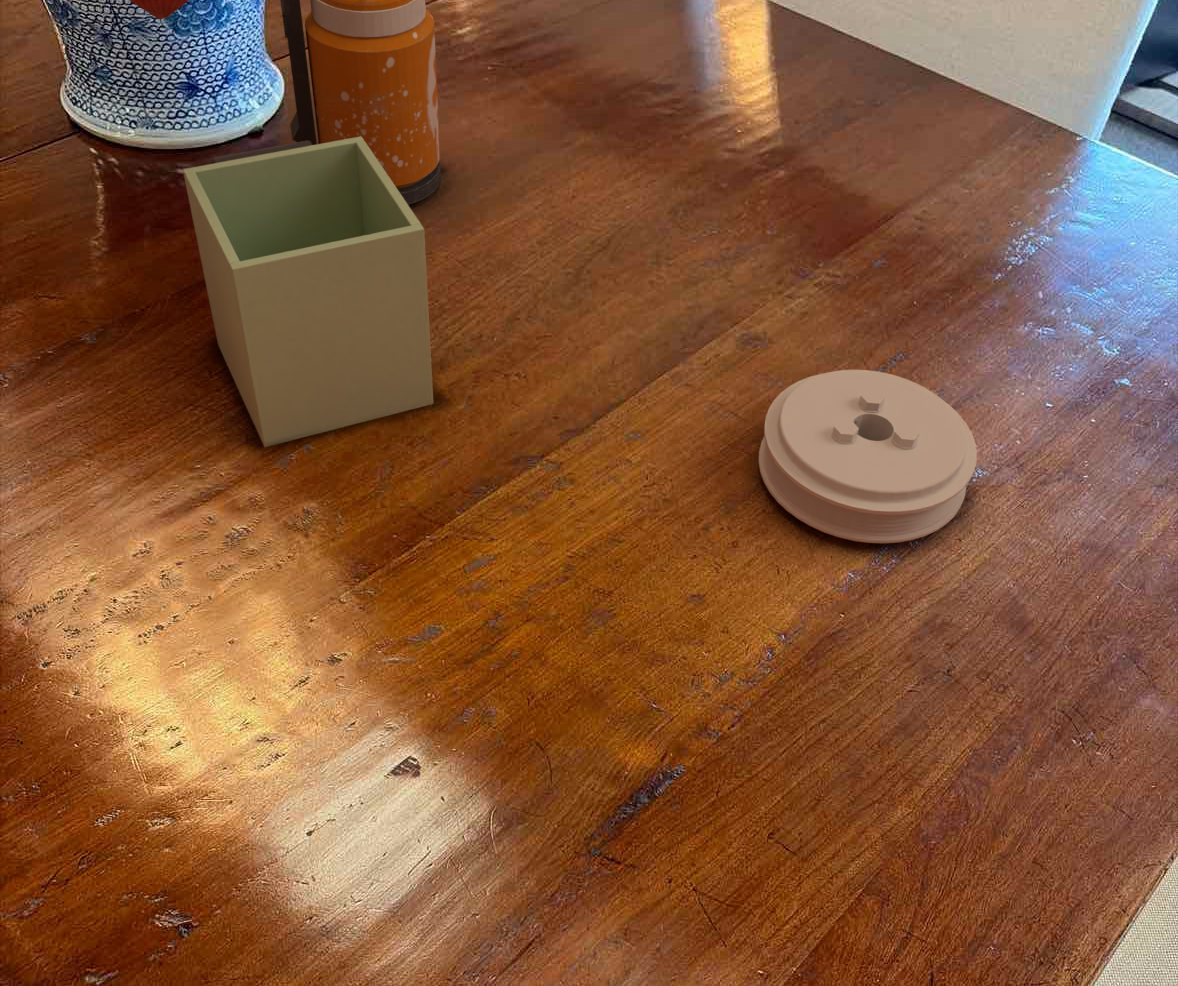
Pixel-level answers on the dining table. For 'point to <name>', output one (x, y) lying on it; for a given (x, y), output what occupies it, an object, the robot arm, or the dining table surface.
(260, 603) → the dining table surface
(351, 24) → the canister
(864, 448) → the lid
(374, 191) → the bin
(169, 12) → the onion
